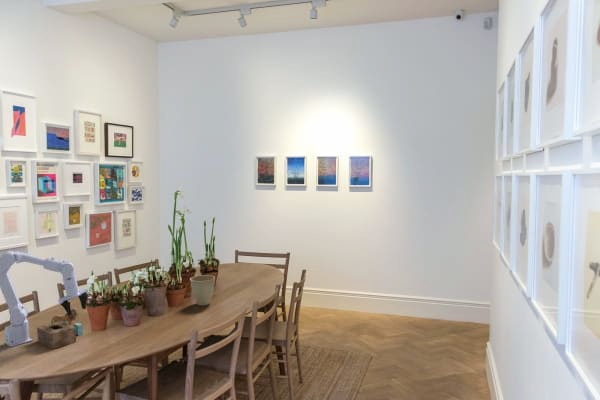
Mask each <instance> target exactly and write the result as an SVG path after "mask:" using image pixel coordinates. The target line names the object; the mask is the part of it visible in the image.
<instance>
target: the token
mask: <svg viewBox="0 0 600 400" xmlns="http://www.w3.org/2000/svg"><path fill="white" fill-rule="evenodd" d="M73 327H75V333H76V335H77V336H79V337H80V336H83V335H84V334H83V332H84V331H83V323H79V322H75V323H73Z"/></svg>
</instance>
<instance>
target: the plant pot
mask: <svg viewBox="0 0 600 400" xmlns="http://www.w3.org/2000/svg"><path fill="white" fill-rule="evenodd" d="M215 281H216V277H215V276H214V275H209V274H208V275H207V274H206V275H205V274H204V275H196V276H192V277H190V278H189V282H190V286H191V287H190V288H191V291H192V294H193V298H194V301H195V302H196V304H197V306H207V305H209V304H210V302H211V300H212V297H213V293H214V288H215Z"/></svg>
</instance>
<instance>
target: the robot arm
mask: <svg viewBox="0 0 600 400" xmlns="http://www.w3.org/2000/svg"><path fill="white" fill-rule="evenodd" d="M55 258H56V257H54V256H52V257H48V258H42V257H39V256H36V255H32V254H29V253H25V252H22V251H15V250H13V249H9V250H6V251H5V252H4V253H3V254H1V255H0V291H1V293H2V295H3V298H4V300H5V302H6V305H7V308H8V314H9V322H10V324H9V325H7V326H5V328H4V344H5V345H7V346H9V347H15V346H17V345H22V344H25V343H28V342H29V343H30V342H32V341H33V339H32V338H30V334H29V333H30V332H29V331H30V329H29V320H28V318H27V317H28V315H29V311H28V309H27V308H25V306H24V305H23V303H22V302H21V301H20V299H19V296H18V295H17V291H16V290H15V289H16V288H15V287H14V284H13V281H12V280H11V277H10V275H9V271H10V269H11V267H12V266H13V265H14V264H15V263H16V264H21V263H30V264H33V265H38V266H41V267H42V268H43V269H44V270H47V271H50V272H55V273H60V274H61V275H62V282H63V285H64V291H65V296H63V297H62V298H59V299H57V301H58V304H59V305H61V307H62V308H63V309H64V310H65V312H66V314H68V315H72V313H71V310H72V309H71V302H70V300H73V299H75V298H79V302H80V305H81V309H82V310H86V309H87V300H88V296H89V295H88V293H89V290H88V289H87V288H85V289H82V290H80V289H79V286H78V285H79V284H78V281H77V277H76V273H75V271H74V268H75V267H74V266H75V265H74V264H73V263H72V262H70V261H66V260H60V259H55Z"/></svg>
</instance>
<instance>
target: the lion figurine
mask: <svg viewBox="0 0 600 400" xmlns="http://www.w3.org/2000/svg"><path fill="white" fill-rule="evenodd" d="M71 313H72V315H68V314H67V313H66V314H56V315H54V316H53V317H52V319H51V322H50V323H54V322H58V321H63V322H65V323H68V324H69V325H71V326H73V324H72V322H73V321H75V320H76V319H77V318H78V317H79V315H80V311H79V308H72V309H71Z"/></svg>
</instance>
